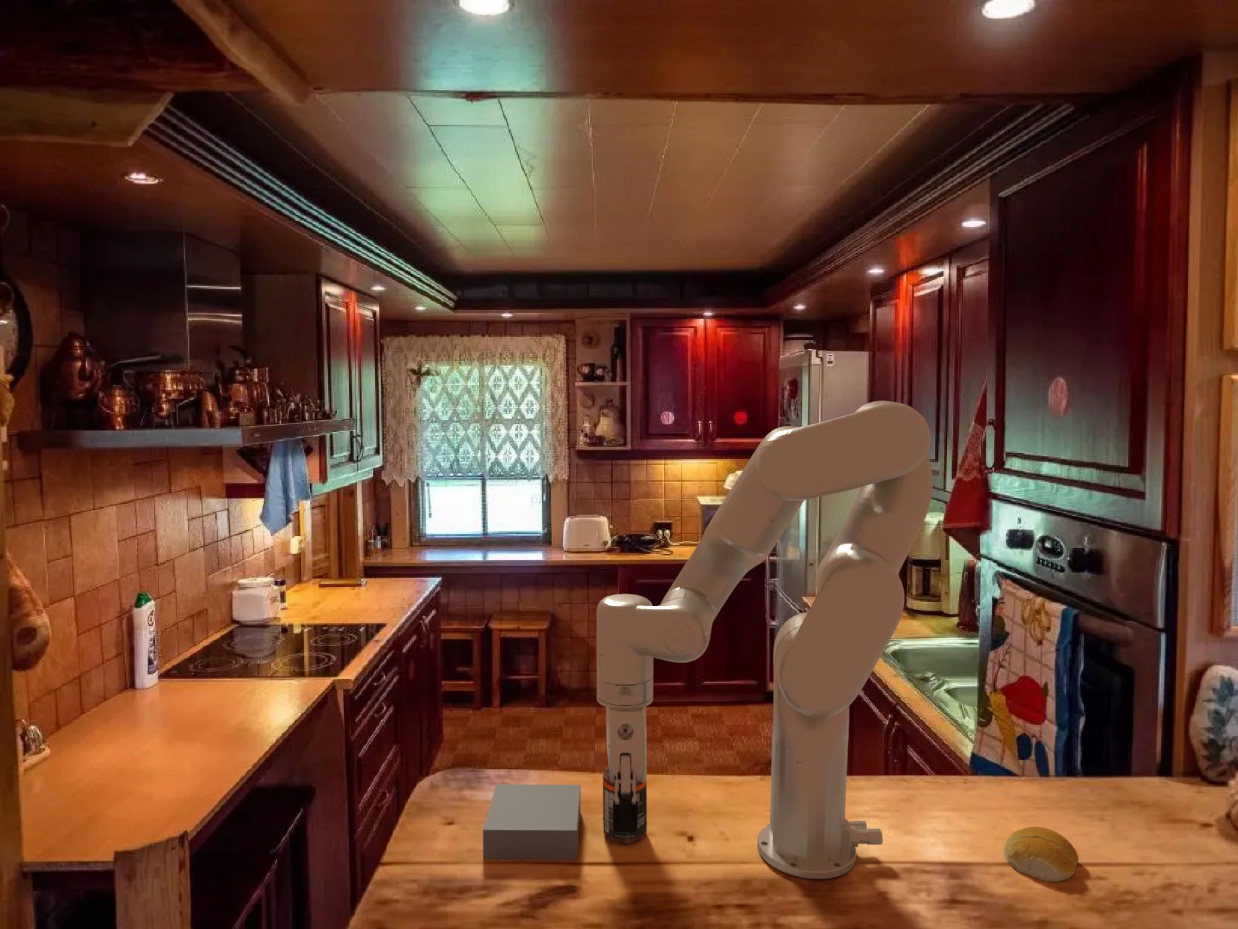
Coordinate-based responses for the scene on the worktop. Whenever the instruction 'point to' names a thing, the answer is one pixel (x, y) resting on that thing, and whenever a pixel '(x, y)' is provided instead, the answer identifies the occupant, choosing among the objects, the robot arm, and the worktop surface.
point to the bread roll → (1041, 854)
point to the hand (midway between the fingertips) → (624, 816)
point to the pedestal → (532, 823)
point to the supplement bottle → (608, 811)
